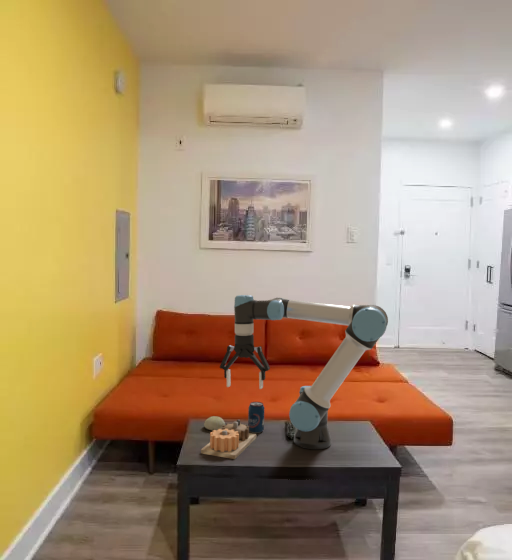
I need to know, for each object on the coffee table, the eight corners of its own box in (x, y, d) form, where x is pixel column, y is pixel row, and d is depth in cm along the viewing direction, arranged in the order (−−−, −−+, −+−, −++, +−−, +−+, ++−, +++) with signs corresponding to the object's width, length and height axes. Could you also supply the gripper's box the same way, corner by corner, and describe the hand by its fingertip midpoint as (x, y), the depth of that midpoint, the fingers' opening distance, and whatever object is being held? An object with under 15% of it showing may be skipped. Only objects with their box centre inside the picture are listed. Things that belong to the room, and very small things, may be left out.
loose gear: (232, 453, 185) (232, 440, 185) (205, 449, 188) (205, 436, 188) (242, 443, 195) (242, 431, 195) (217, 439, 199) (217, 427, 199)
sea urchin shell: (227, 420, 222) (225, 411, 216) (224, 437, 217) (222, 428, 211) (207, 419, 223) (204, 410, 217) (204, 435, 218) (201, 427, 212)
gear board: (256, 437, 207) (256, 420, 206) (235, 459, 184) (235, 439, 184) (225, 433, 211) (225, 415, 211) (200, 453, 188) (201, 434, 188)
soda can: (245, 432, 213) (246, 404, 213) (251, 427, 220) (252, 400, 219) (260, 434, 211) (261, 406, 210) (265, 429, 217) (266, 402, 217)
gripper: (277, 333, 196) (277, 386, 197) (218, 331, 203) (218, 383, 204) (272, 336, 189) (272, 391, 190) (211, 334, 196) (212, 387, 197)
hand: (244, 387), depth 197 cm, fingers open, 13 cm apart
